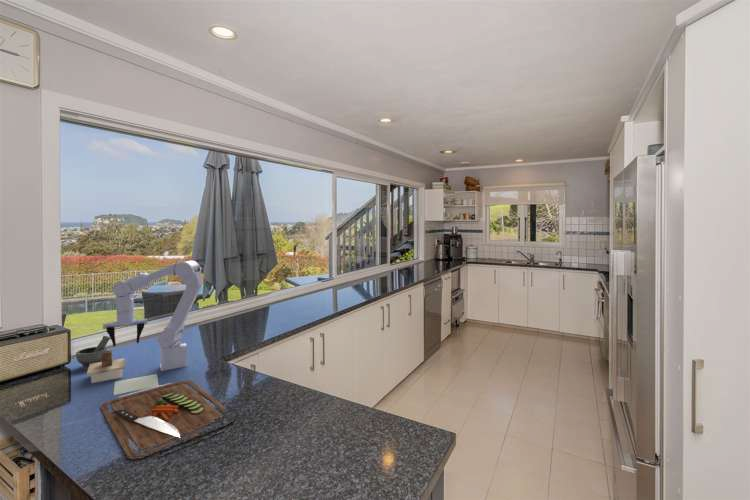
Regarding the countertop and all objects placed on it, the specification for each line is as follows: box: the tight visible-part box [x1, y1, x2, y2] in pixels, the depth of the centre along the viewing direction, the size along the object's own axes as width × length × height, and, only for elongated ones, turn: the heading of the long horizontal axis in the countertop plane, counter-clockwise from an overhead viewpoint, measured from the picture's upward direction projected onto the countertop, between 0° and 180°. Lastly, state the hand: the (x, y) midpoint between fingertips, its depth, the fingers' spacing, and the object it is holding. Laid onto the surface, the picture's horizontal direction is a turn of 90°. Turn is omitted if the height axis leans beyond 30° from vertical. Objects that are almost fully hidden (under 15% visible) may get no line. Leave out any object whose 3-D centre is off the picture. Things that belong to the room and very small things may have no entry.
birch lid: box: [86, 350, 126, 376], centre depth 134 cm, size 11×11×6 cm
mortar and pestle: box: [75, 335, 111, 371], centre depth 145 cm, size 11×9×12 cm
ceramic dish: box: [90, 369, 123, 384], centre depth 134 cm, size 9×9×4 cm
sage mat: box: [113, 373, 160, 396], centre depth 128 cm, size 13×13×1 cm
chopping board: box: [100, 380, 228, 458], centre depth 108 cm, size 45×27×3 cm, turn 46°
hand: (126, 344), depth 143 cm, fingers open, 7 cm apart
